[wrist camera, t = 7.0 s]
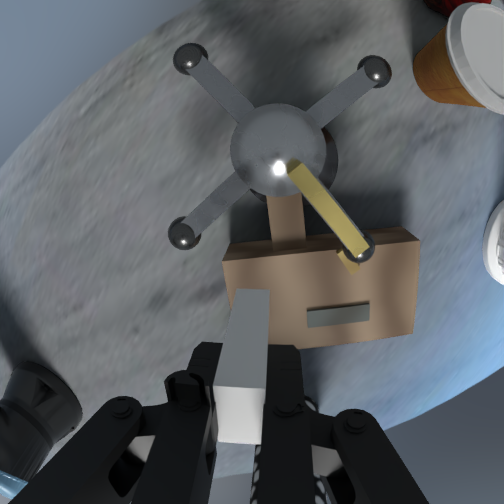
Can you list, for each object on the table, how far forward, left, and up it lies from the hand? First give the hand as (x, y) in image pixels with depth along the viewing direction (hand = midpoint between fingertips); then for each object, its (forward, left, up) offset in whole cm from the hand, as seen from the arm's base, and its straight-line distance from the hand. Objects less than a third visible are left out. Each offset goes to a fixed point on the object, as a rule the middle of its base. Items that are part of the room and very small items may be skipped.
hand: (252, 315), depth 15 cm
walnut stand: (+5, -4, -18) cm, 19 cm away
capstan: (+2, +7, -18) cm, 20 cm away
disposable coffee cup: (+20, +14, -19) cm, 31 cm away
